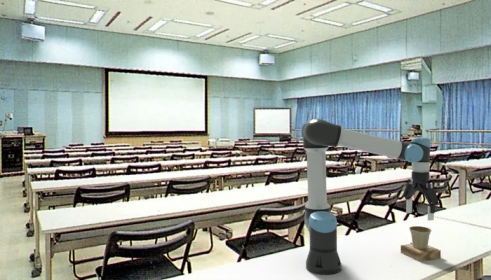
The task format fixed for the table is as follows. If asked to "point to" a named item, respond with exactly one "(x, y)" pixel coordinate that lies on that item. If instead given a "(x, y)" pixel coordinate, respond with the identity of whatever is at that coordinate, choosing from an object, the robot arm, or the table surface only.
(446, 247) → the table surface
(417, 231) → the flower pot
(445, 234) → the table surface
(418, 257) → the plinth
